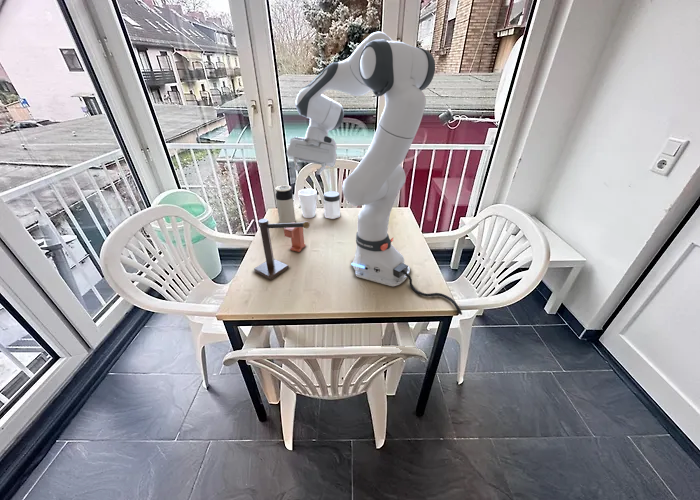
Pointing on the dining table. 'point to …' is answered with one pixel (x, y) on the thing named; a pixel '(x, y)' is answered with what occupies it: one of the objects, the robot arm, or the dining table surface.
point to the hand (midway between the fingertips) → (307, 172)
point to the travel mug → (285, 204)
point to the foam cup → (308, 202)
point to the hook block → (295, 237)
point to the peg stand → (271, 265)
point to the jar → (332, 204)
